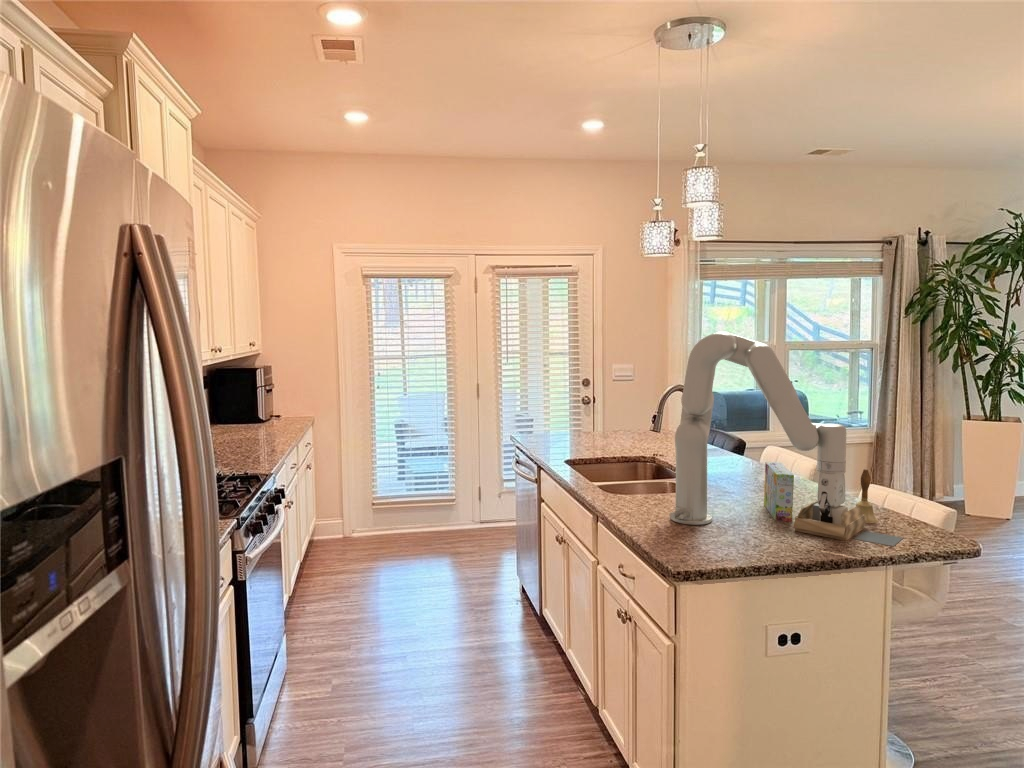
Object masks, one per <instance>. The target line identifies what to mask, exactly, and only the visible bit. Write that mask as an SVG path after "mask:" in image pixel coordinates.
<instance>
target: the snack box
mask: <svg viewBox="0 0 1024 768" xmlns="http://www.w3.org/2000/svg"><path fill="white" fill-rule="evenodd" d="M764 463H765V464H764V465H765V467H764V498H763V499H764V500H763V506H765V509H766V510H767V512H768V513H769V514H770V515H771V516H772V519H774V521H776V522H793V507H794V506H793V505H794V486H795V485H794V484H795V483H794V481H795V475H794V474H793V473H792V472H791V471H790V470H789V469H788V468H787V467H786V466H785V465H784V464H783V463H782V462H777V461H775V462H774V461H771V462H770V461H768V462H767V461H766V462H764Z"/></svg>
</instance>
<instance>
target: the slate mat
mask: <svg viewBox="0 0 1024 768" xmlns="http://www.w3.org/2000/svg"><path fill="white" fill-rule="evenodd" d="M903 539H904V536H902V537H901V536H897V535H896V536H895V535H890V534H885V533H881V532H876V531H875V532H873V531H869V530H864V531H862V532H861V533H859V534H858V535H857V536H855V537H854V538H853V540H855V541H856V540H857V541H862V542H868V543H870V544H871V543H872V544H878V545H882V546H888V547H896V545H898V544H899V543H900V542H901V541H902V540H903Z"/></svg>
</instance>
